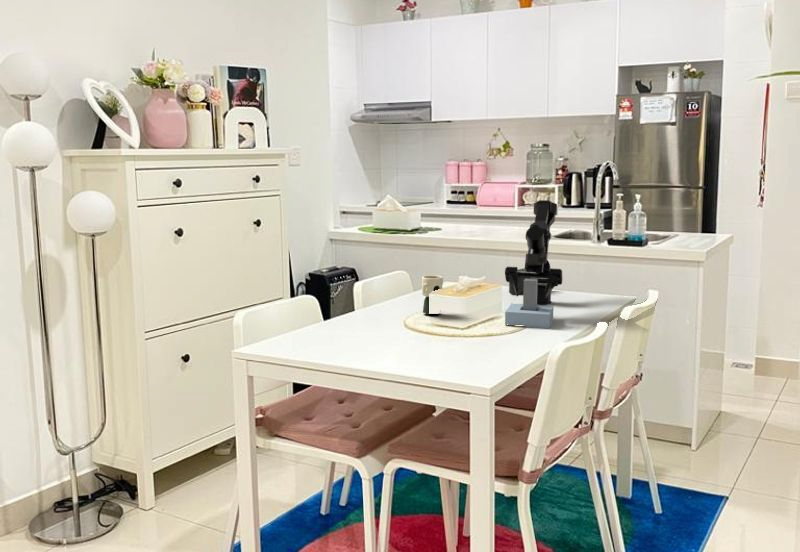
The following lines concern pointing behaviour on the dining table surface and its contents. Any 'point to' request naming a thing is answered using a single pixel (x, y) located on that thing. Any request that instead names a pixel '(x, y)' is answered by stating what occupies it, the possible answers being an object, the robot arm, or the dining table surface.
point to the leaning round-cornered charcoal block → (520, 285)
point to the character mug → (430, 288)
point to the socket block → (529, 316)
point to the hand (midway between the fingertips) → (531, 296)
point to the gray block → (530, 295)
